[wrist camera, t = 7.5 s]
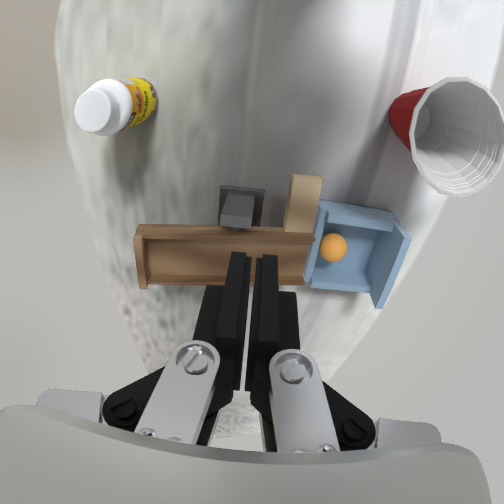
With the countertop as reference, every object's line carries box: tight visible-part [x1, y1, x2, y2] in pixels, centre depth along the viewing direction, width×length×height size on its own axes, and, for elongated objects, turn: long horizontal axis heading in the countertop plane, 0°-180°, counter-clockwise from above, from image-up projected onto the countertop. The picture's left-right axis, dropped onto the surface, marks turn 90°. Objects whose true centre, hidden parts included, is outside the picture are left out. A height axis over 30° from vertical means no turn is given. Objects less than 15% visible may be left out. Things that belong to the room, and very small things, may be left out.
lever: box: [133, 173, 323, 289], centre depth 30 cm, size 12×18×3 cm
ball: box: [319, 233, 347, 262], centre depth 35 cm, size 4×4×4 cm
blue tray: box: [303, 199, 412, 309], centre depth 34 cm, size 10×10×7 cm
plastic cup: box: [389, 77, 504, 198], centre depth 23 cm, size 11×11×12 cm
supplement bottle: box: [74, 78, 158, 136], centre depth 25 cm, size 6×6×10 cm
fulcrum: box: [218, 186, 264, 286], centre depth 34 cm, size 10×5×7 cm, turn 174°
